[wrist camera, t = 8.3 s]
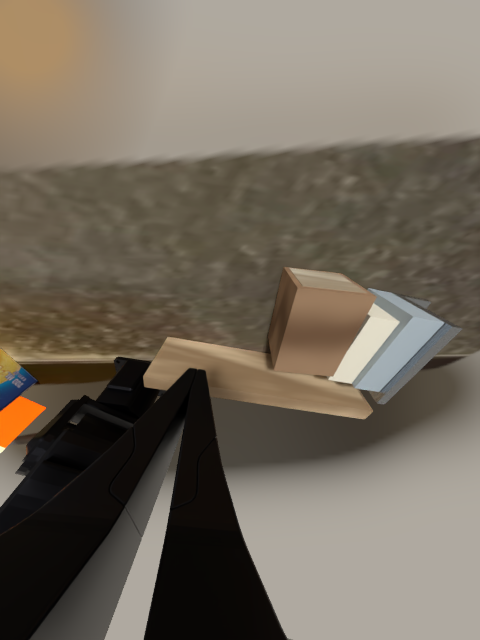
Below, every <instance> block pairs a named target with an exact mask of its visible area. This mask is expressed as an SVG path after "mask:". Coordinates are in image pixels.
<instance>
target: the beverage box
mask: <svg viewBox="0 0 480 640" xmlns="http://www.w3.org/2000/svg"><path fill="white" fill-rule="evenodd" d="M36 382H38V381H37V380H36V379H35V378H34V377H33V376H32V375H31V374H29V373H28V372H27V371H26V370H25V369H24V368H23V367H21V366H20V365H19V364H18V363H17V362H16V361H15V360H13V359H12V358H11V357H10V356H9V355H8V354H7V353H6V352H4V351H3V350H2V349H1V348H0V412H1V411H2V410H3V409H4V408H6V407H7V406H8V405H9V404H10V403H12V402H13V401H14V400H15V399H17V398H18V397H19V396H20V395H21V394H23V393H24V392H25V391H26V390H28V389H29V388H30V387H31V386H33V385H34V384H35V383H36Z"/></svg>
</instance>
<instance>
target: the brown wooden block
mask: <svg viewBox="0 0 480 640" xmlns="http://www.w3.org/2000/svg"><path fill="white" fill-rule="evenodd" d="M376 298H377V296H375V295H374V294H372V293H371V292H369V291H368V290H366V289H364V288H363V287H361V286H360V285H358V284H357V283H355V282H354V281H352V280H351V279H349V278H348V277H346V276H344V275H343V274H341V273H333V272H324V271H315V270H306V269H297V268H288V267H283V272H282V276H281V281H280V285H279V289H278V294H277V298H276V302H275V307H274V311H273V315H272V320H271V324H270V329H269V333H268V339H269V345H270V351H271V357H272V363H273V369H274V371H281V372H291V373H302V374H312V375H322V376H332V377H333V376H334V374H335V372H336V370H337V369H338V367H339V365H340V363H341V361H342V360H343V358H344V356H345V354H346V352H347V350H348V349H349V347H350V345H351V343H352V341H353V340H354V338H355V336H356V334H357V332H358V330H359V329H360V327H361V325H362V323H363V321H364V320H365V318H366V316H367V314H368V312H369V310H370V309H371V307H372V305H373V303H374V301H375V300H376Z"/></svg>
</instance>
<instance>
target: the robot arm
mask: <svg viewBox="0 0 480 640" xmlns="http://www.w3.org/2000/svg"><path fill="white" fill-rule="evenodd" d="M114 363H115V367H116V371H117V373H116V375H115V376H114V377H113V378H112V380H111V381H110V382H109V384H108V385H107V387H106V388H105V390H104V391H103V392H102V393H101V395H100V396H99V397H98V398H97V400H96V401H95V400H92V399H90V398H89V397H88V396H86V395H84V396H83V397H82V398H81V399H80V400H79V399H78V400H71V401H70V402H69V403H68V404H67V405H66V406H65V407H64V408H63V409H62V410H61V411H60V412H59V414H58V415H57V416H56V417H55V418H54V419H52V420H51V422H49V423H48V424H47V425H46V426H45V427H44V428H43V429H42V430H41V431H40V432H39V433H38V434H37V435H36V436H35V437H34V438H33V439H32V440H31V441H30V442H29V443H28V444H27V445H26V457H25V458H24V459H23V460H22V461H23V462H24V463H23V464H22V465H21V466H20V468H19V469H18V470H17V471H16V473H15V474H19V475H25V476H26V477H25V478H24V479H23V481H22V482H21V483H20V484H19V485H18V487H17V488H16V489H15V490H14V491H13V493H12V494H11V495H10V496H9V498H8V499H7V500H6V501H5V502H4V504H3V505H2V506H1V507H0V640H104V639H105V636H106V633H107V631H108V628H109V625H110V623H111V620H112V617H113V615H114V612H115V609H116V607H117V604H118V601H119V598H120V596H121V593H122V590H123V588H124V585H125V582H126V580H127V577H128V574H129V572H130V569H131V566H132V564H133V561H134V558H135V556H136V553H137V550H138V547H139V545H140V542H141V537H142V536H143V534H144V531H145V528H146V526H147V523H148V521H149V518H150V515H151V513H152V510H153V507H154V504H155V502H156V499H157V497H158V494H159V491H160V488H161V486H162V483H163V480H164V478H165V475H166V472H167V470H168V467H169V464H170V461H171V459H172V456H173V454H174V451H175V448H176V446H177V443H178V439H179V437H180V435H181V432H182V429H183V427H184V429H183V435H182V441H181V447H180V452H179V458H178V464H177V471H176V477H175V482H174V488H173V494H172V500H171V506H170V513H169V517H168V523H167V529H166V534H165V539H164V544H163V549H162V554H161V559H160V564H159V569H158V574H157V579H156V583H155V588H154V593H153V598H152V602H151V607H150V611H149V616H148V621H147V626H146V631H145V635H144V640H291V639H288V638H287V637H286V635H285V633H284V631H283V629H282V627H281V625H280V623H279V620H278V618H277V616H276V613H275V611H274V609H273V606H272V604H271V602H270V599H269V597H268V595H267V592H266V590H265V588H264V585H263V583H262V581H261V579H260V576H259V574H258V572H257V570H256V567H255V565H254V562H253V560H252V558H251V555H250V553H249V551H248V548H247V546H246V543H245V541H244V538H243V535H242V532H241V529H240V526H239V523H238V520H237V516H236V513H235V509H234V506H233V502H232V499H231V495H230V492H229V488H228V485H227V482H226V478H225V474H224V470H223V466H222V462H221V458H220V453H219V448H218V441H217V438H216V436H217V435H216V430H215V423H214V417H213V411H212V405H211V399H210V393H209V387H208V380H207V374H206V370H202V369H198V370H197V369H196V368H188V369H187V370H186V371H185V372H184V373H183V374H182V375H181V376H180V377H179V379H178V380H177V381H176V382H175V383H174V384H173V385H172V386H171V387H170V388H169V389H168V390H161V389H154V388H147V387H144V380H143V376H144V374H145V373H146V371H147V369H148V368H149V366H150V365H151V363H152V362H149V361H142V360H136V359H130V358H123V357H116V359H115V360H114ZM157 396H161V397H160V398H159V399H158V400H157V401H156V402H155V400H156V398H157ZM154 402H155V403H154ZM70 421H72V422H75V423H78V424H77V425H74V424H71V423H70Z"/></svg>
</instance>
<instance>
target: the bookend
mask: <svg viewBox="0 0 480 640" xmlns="http://www.w3.org/2000/svg"><path fill="white" fill-rule="evenodd" d="M393 294H395V293H393ZM395 295H396V296H398V297H400V298H402V299H403V300H405V301H407V302H409V303H411V304H412V305H414V306H416V307H418V308H420V309H421V310H423V311H425V312H427V313H428V314H430V315H432V316H434V317H436V318H437V319H439V320H441V321H443V322H444V324H443V325H442V326H441V327H440V328H439V329H438V331H437V332H436V333H435V334H434V335H433V336H432V337H431V338H430V339H429V340H428V341H427V342H426V343H425V344H424V345H423V346H422V347H421V348H420V349H419V351H418V352H417V353H416V354H415V355H414V356H413V357H412V358H411V359H410V360H409V361H408V362H407V363H406V364H405V365H404V366H403V367H402V368H401V369H400V371H399V372H398V373H397V374H396V375H395V376H394V377H393V378H392V379H391V380H390V381H389V382H388V383H387V384H386V385H385V386H384V387H383V388H382V389H381V391H380V392H376V391H370V390H368V391H369V392H370V394H371V395H372V397H373V398H374V400H375V401H376V403H379V404H385V403H386V402H387V401H388V400H389V399H390V398H391V397H392V396H394V395H395V393H397V392H398V391H399V390H400V389H401V388H402V387H403V386H404V385H405V384H406V383H407V382H408V381H409V380H410V379H411V378H412V377H413V376H414V375H415V374H416V373H417V372H418V371H419V370H420V369H421V368H422V367H423V366H425V365H426V364H427V363H428V362H429V361H430V360H431V359H432V358H433V357H434V356H435V355H436V354H437V353H438V352H439V351H440V350H441V349H442V348H443V347H444V346H445V345H446V344H447V343H448V342H449V341H450V340H451V339H452V338H453V337H455V336H456V335H457V334H458V333H459V332H460V331H461V330H462V328H460V327H459V326H457V325H455V324H453V323H451V322H449V321H448V320H446V319H444V318H442V317H440V316H438V315H436V314H435V313H433V312H431V311H429V310H427V309H426V308H427V307H428V306H429V305H430V303H431V302H430V301H428V300H424V299H419V298H414V297H410V296H405V295H400V294H395Z"/></svg>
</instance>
